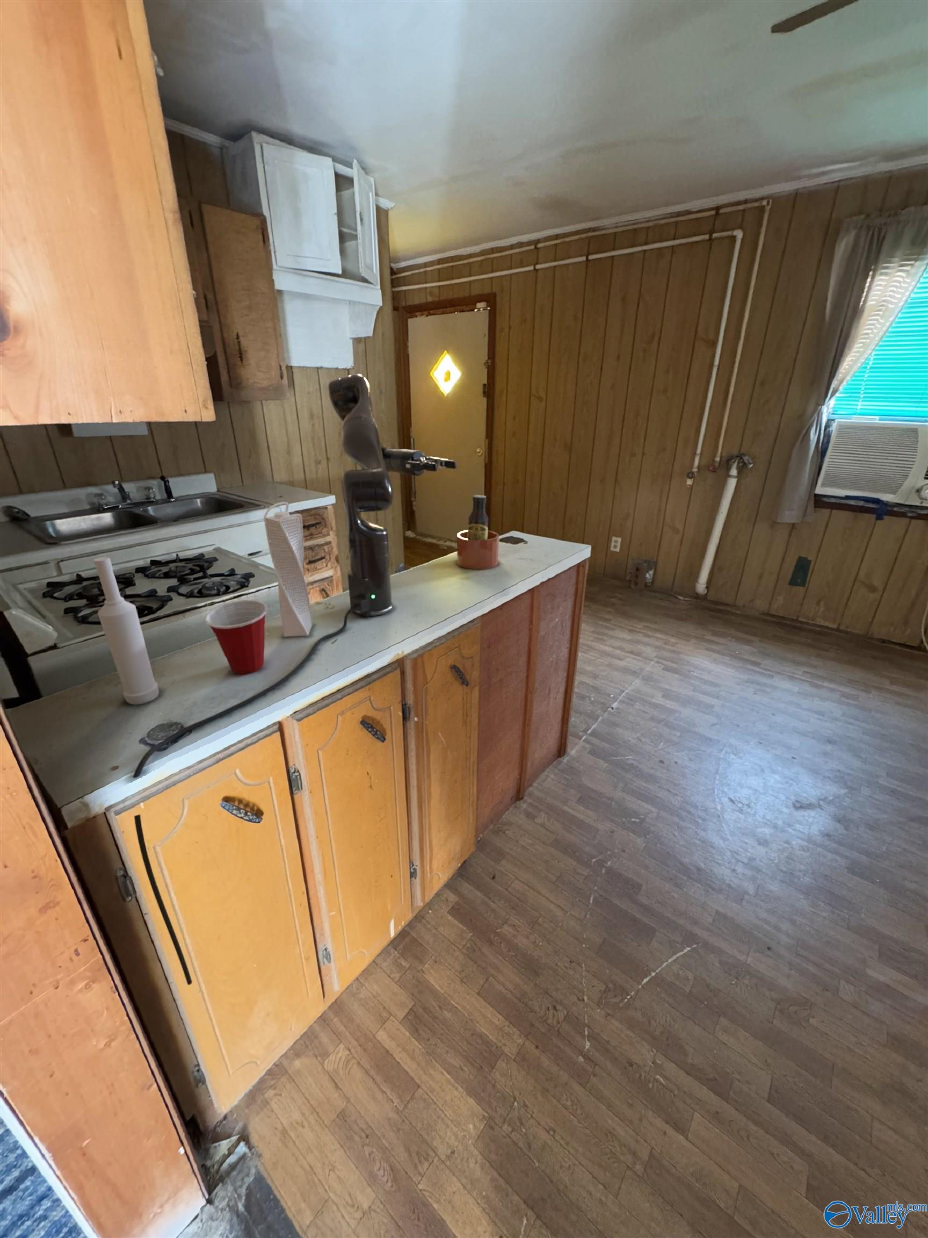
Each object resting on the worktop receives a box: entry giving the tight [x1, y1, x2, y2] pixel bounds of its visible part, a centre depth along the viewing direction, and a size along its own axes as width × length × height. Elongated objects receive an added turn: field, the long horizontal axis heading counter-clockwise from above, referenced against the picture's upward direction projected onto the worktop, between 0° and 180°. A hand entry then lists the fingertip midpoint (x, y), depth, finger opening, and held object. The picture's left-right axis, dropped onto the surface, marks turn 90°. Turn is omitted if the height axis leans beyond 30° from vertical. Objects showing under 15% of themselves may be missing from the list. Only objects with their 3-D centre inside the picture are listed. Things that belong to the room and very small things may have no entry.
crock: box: [456, 530, 500, 570], centre depth 156 cm, size 13×13×9 cm
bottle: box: [93, 556, 160, 706], centre depth 82 cm, size 5×5×25 cm
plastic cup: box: [203, 599, 268, 675], centre depth 94 cm, size 11×11×12 cm
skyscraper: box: [263, 501, 314, 638], centre depth 106 cm, size 8×8×28 cm
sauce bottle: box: [467, 494, 489, 540], centre depth 154 cm, size 7×6×20 cm
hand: (446, 466), depth 148 cm, fingers open, 8 cm apart
